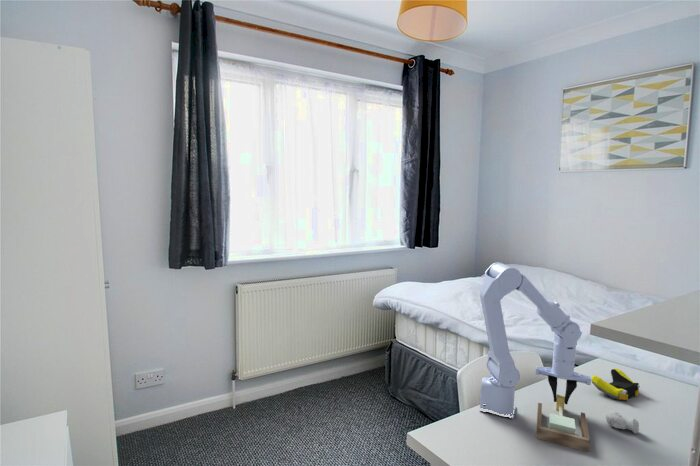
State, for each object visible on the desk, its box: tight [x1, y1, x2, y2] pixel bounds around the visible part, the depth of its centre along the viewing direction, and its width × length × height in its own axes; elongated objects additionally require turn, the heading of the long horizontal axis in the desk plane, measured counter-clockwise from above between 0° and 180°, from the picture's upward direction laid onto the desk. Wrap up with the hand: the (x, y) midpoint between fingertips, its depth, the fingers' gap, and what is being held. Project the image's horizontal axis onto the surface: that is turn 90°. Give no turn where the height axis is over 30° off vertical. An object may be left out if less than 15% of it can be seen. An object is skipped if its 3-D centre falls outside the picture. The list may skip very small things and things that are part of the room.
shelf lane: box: [535, 402, 590, 452], centre depth 109 cm, size 12×14×3 cm
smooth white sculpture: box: [605, 410, 640, 435], centre depth 110 cm, size 4×8×5 cm
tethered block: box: [548, 393, 576, 435], centre depth 112 cm, size 6×18×4 cm, turn 153°
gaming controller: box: [591, 368, 642, 401], centre depth 130 cm, size 15×6×10 cm
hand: (560, 401), depth 119 cm, fingers open, 2 cm apart
